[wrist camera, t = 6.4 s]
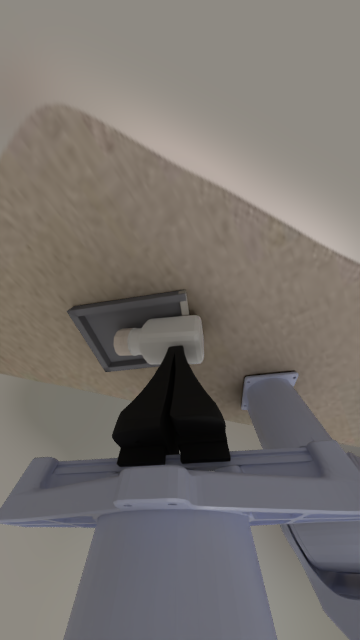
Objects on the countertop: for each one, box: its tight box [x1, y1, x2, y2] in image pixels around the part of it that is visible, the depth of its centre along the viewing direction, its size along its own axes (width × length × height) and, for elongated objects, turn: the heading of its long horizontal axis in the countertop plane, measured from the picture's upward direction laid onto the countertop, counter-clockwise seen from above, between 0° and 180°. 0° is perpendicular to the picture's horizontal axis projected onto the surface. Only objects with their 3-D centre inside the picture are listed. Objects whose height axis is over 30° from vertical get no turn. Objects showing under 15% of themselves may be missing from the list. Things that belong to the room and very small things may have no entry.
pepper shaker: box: [113, 315, 204, 365], centre depth 16 cm, size 4×4×10 cm
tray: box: [67, 290, 189, 372], centre depth 18 cm, size 10×13×1 cm
